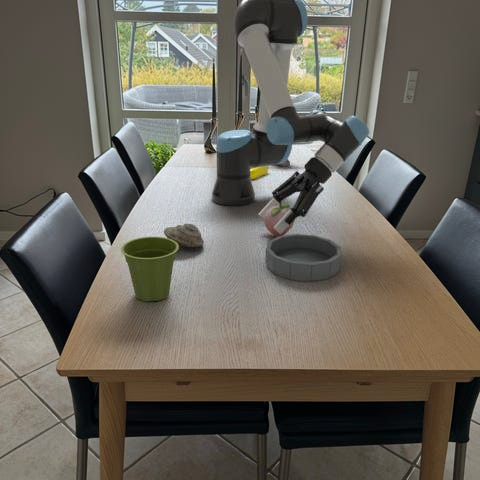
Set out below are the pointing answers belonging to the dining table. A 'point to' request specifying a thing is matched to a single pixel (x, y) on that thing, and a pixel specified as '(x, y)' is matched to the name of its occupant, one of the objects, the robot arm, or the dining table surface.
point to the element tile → (258, 172)
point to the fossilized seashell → (185, 235)
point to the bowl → (303, 257)
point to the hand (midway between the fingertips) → (268, 223)
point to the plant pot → (150, 266)
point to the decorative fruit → (276, 218)
